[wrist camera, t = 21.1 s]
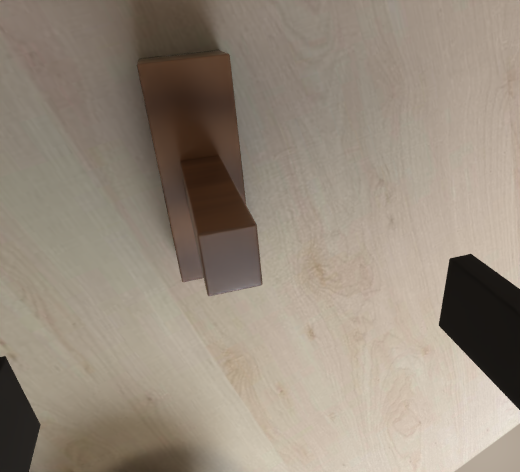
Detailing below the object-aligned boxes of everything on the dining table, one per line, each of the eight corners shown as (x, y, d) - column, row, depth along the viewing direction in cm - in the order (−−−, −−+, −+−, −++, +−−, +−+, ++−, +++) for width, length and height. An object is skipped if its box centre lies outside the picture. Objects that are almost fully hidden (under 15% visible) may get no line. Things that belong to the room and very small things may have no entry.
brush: (138, 58, 25) (129, 91, 13) (219, 49, 26) (279, 73, 14) (178, 257, 32) (197, 396, 20) (243, 245, 32) (297, 371, 21)
